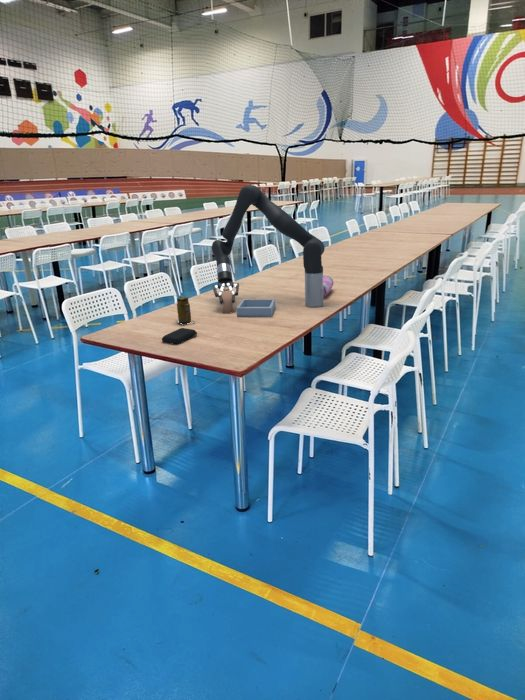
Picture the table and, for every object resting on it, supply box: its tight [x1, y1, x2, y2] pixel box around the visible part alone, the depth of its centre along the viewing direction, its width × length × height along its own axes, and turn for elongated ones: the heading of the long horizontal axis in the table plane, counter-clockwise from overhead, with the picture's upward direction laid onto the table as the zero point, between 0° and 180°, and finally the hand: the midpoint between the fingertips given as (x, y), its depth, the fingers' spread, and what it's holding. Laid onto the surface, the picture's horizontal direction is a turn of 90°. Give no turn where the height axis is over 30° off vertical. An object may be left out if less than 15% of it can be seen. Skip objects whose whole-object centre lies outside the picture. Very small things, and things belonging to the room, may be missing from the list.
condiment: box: [175, 296, 196, 326], centre depth 227 cm, size 7×8×12 cm
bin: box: [236, 298, 277, 318], centre depth 239 cm, size 17×16×4 cm
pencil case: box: [323, 274, 334, 298], centre depth 265 cm, size 21×9×9 cm, turn 160°
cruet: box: [221, 287, 234, 314], centre depth 241 cm, size 5×5×12 cm
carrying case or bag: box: [161, 327, 198, 345], centre depth 207 cm, size 11×3×15 cm
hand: (227, 302), depth 240 cm, fingers open, 5 cm apart
